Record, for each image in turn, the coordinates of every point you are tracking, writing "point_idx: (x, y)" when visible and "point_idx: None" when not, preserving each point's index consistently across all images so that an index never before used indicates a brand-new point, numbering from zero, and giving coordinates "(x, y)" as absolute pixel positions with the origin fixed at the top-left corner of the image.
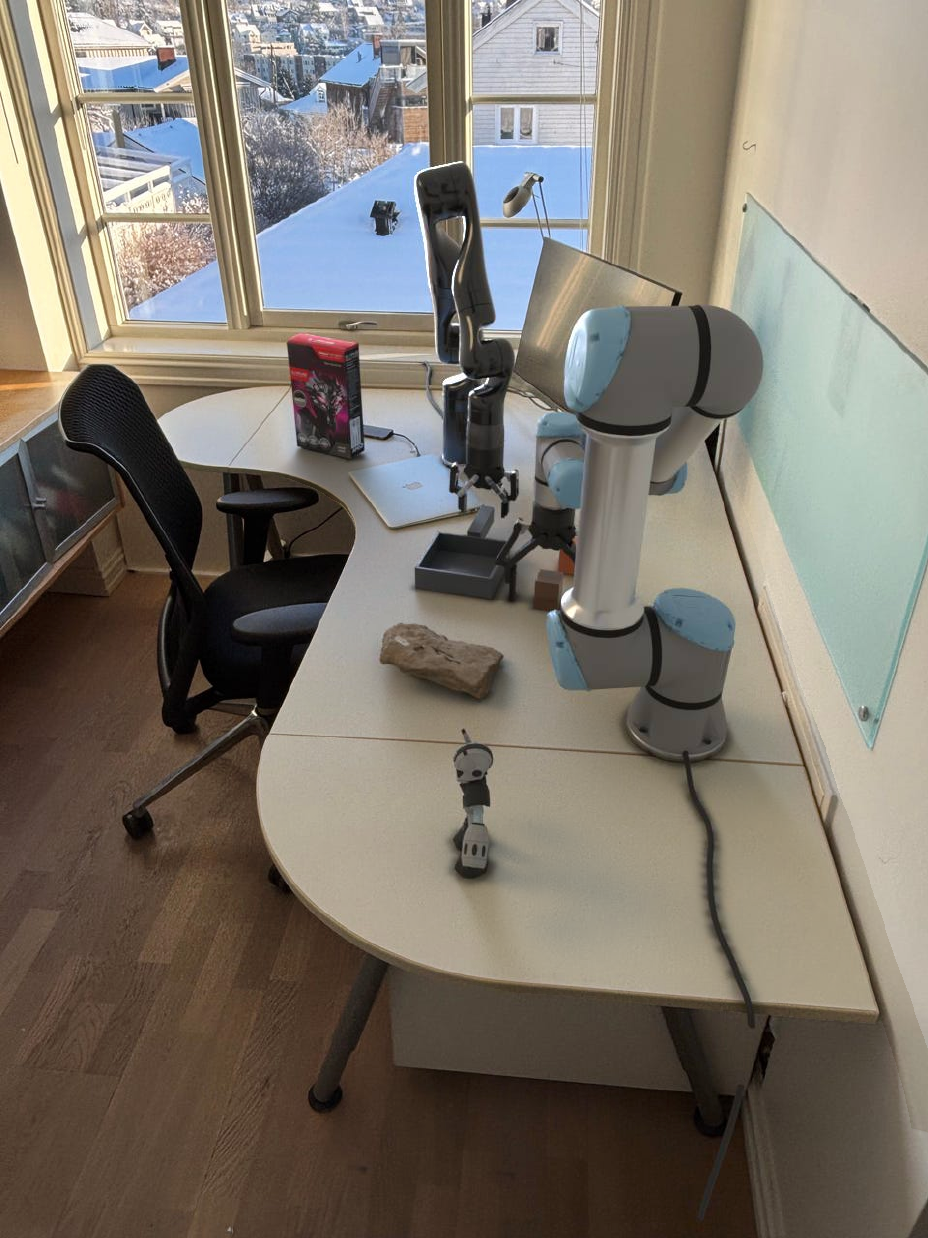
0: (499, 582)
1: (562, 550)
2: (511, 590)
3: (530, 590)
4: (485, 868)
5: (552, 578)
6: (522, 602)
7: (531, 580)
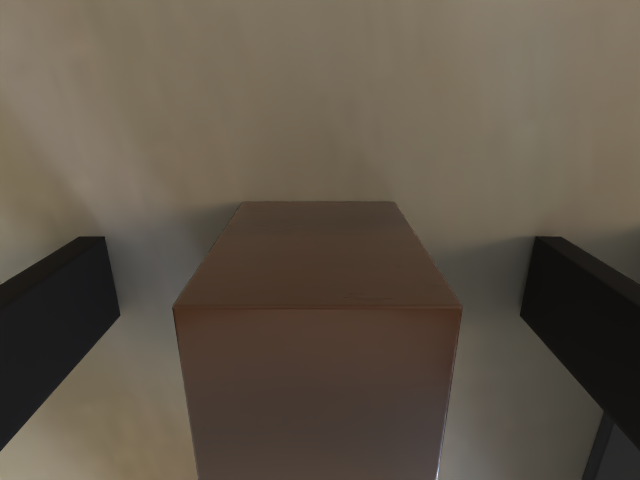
0: None
1: None
2: (596, 269)
3: None
4: None
5: (278, 397)
6: (469, 248)
7: None
